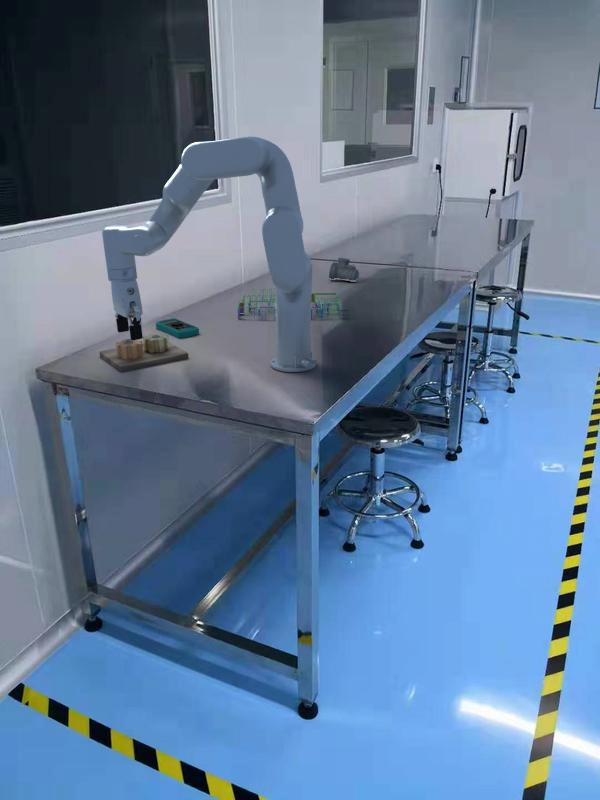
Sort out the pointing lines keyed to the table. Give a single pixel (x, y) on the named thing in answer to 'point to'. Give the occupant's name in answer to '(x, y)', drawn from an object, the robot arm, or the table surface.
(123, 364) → the gear board
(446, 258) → the table surface
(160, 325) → the digital multimeter
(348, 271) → the pipe fitting
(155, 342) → the green gear
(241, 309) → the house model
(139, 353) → the tan gear
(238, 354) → the table surface
